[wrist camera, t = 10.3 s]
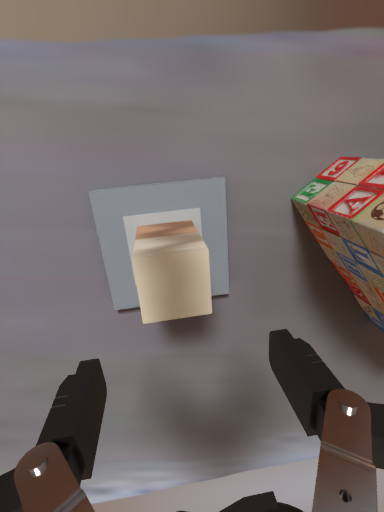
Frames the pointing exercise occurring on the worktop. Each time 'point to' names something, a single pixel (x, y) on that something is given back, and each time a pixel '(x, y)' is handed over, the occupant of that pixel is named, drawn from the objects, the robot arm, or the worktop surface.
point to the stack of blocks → (351, 226)
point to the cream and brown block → (171, 271)
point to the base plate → (155, 212)
